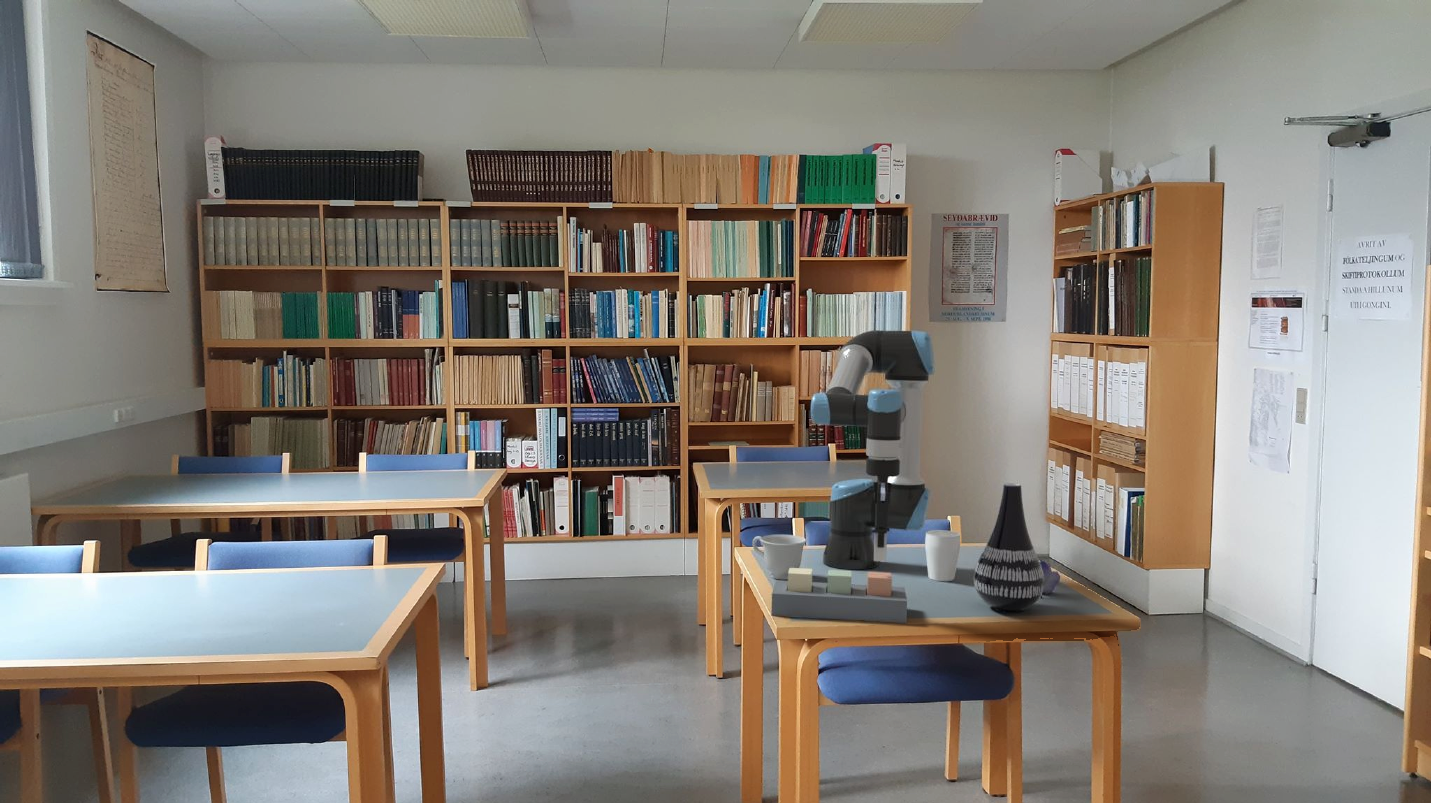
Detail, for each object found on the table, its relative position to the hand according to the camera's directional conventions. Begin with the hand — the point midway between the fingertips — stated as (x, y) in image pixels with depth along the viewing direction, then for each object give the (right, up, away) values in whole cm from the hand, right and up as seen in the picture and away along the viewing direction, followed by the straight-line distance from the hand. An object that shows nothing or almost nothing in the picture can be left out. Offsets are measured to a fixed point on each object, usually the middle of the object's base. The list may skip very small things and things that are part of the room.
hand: (879, 560), depth 223 cm
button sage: (-9, -10, +2) cm, 13 cm away
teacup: (-21, -10, +34) cm, 41 cm away
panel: (-9, -12, +2) cm, 15 cm away
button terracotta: (0, -10, +1) cm, 10 cm away
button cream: (-18, -9, +3) cm, 21 cm away
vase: (+31, -13, +7) cm, 34 cm away
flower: (+44, -12, +21) cm, 50 cm away
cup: (+22, -11, +35) cm, 42 cm away
